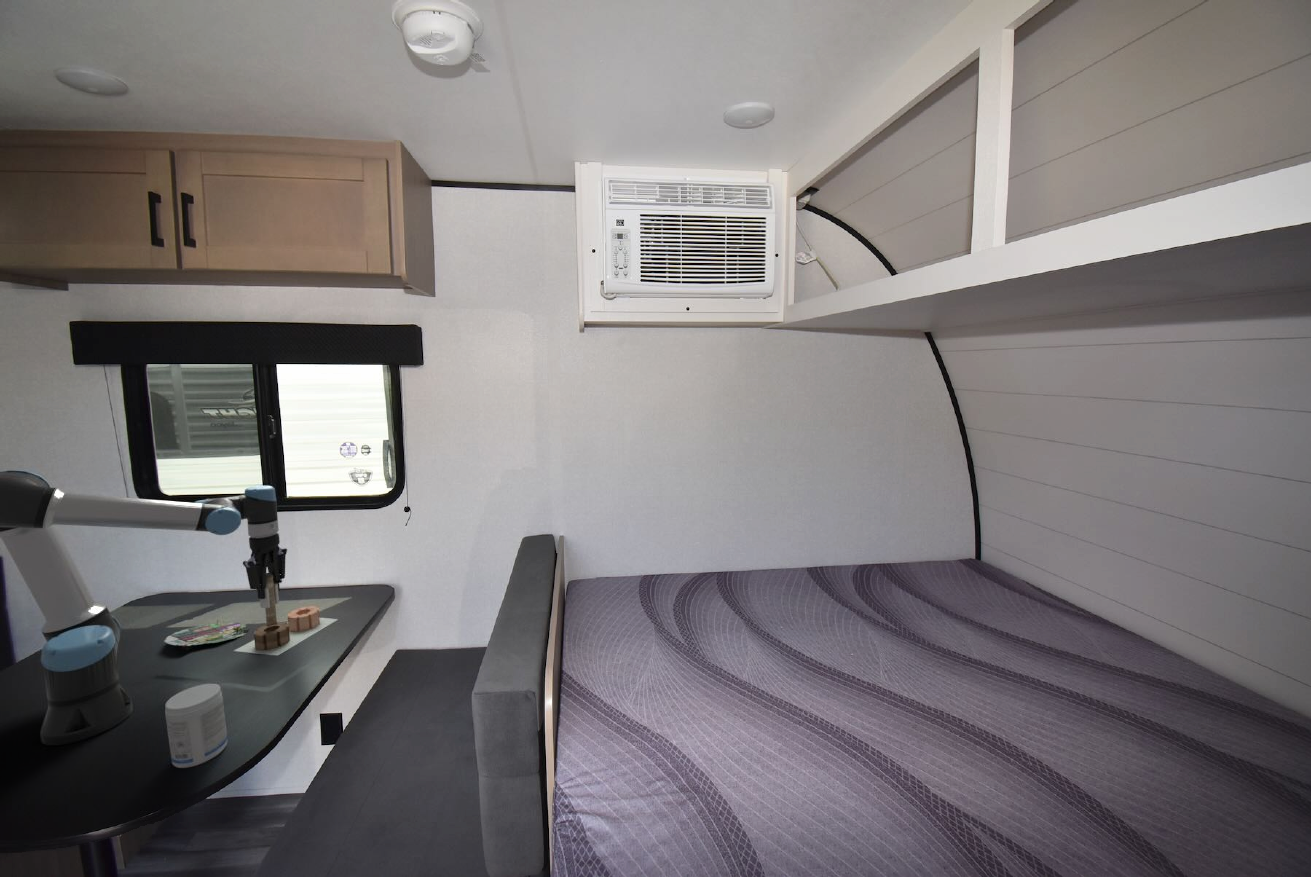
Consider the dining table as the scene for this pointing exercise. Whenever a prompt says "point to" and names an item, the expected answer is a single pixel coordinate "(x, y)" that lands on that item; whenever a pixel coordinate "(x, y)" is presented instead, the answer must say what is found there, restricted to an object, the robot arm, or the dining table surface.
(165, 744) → the dining table surface
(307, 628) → the terracotta bead
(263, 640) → the walnut bead
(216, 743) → the supplement tub
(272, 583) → the wooden dowel rod
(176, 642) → the city model
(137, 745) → the dining table surface
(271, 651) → the board
